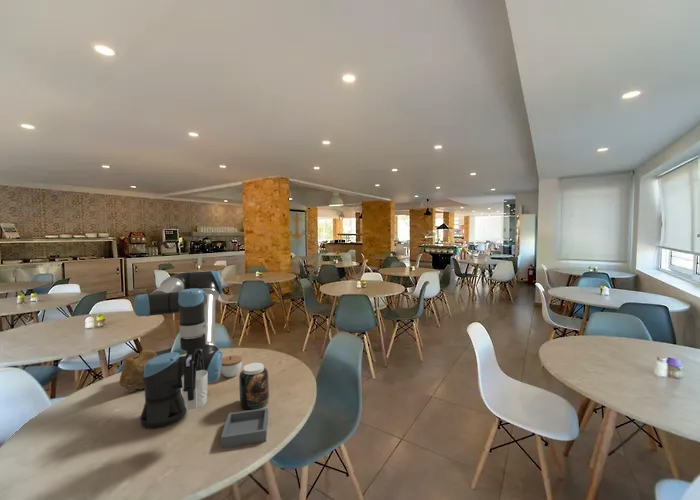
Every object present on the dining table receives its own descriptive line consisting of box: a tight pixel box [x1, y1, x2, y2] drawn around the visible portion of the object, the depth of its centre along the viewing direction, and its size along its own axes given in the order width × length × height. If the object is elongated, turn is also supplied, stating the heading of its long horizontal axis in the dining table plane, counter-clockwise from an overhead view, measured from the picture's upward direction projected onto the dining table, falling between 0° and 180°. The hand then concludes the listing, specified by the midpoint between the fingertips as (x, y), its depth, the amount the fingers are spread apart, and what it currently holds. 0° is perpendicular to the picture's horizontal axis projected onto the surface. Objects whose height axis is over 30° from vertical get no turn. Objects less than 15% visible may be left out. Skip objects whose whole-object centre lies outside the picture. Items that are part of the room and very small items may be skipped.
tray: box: [220, 407, 269, 449], centre depth 106 cm, size 14×14×4 cm
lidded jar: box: [220, 355, 243, 378], centre depth 151 cm, size 11×11×9 cm
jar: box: [238, 362, 270, 411], centre depth 124 cm, size 12×12×15 cm
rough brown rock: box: [119, 349, 158, 393], centre depth 142 cm, size 23×17×15 cm
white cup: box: [181, 370, 209, 409], centre depth 102 cm, size 8×8×10 cm
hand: (195, 401), depth 102 cm, fingers closed on white cup, 7 cm apart
